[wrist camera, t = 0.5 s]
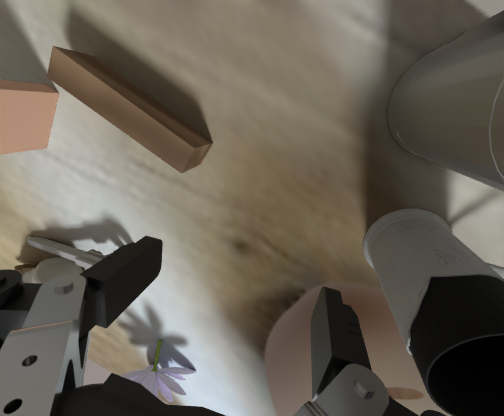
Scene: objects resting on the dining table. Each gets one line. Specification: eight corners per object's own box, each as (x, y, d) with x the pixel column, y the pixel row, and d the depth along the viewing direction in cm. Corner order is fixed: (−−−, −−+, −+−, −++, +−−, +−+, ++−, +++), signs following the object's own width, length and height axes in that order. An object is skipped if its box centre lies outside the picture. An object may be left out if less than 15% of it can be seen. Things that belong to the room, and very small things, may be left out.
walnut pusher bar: (96, 56, 27) (52, 45, 22) (213, 142, 27) (194, 148, 23) (89, 82, 28) (46, 76, 24) (201, 163, 29) (181, 173, 24)
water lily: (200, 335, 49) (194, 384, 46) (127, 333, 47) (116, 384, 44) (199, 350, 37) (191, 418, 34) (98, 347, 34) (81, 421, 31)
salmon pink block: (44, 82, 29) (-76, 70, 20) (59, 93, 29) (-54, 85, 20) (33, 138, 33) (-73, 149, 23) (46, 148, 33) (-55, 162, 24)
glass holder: (363, 210, 26) (421, 316, 13) (528, 204, 23) (856, 344, 9) (361, 277, 29) (406, 421, 16) (506, 281, 26) (728, 474, 12)
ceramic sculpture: (57, 330, 32) (12, 346, 39) (109, 287, 40) (64, 306, 46) (0, 267, 30) (-37, 295, 36) (67, 234, 38) (26, 262, 44)
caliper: (139, 248, 36) (106, 275, 30) (140, 255, 36) (108, 282, 31) (30, 234, 40) (-17, 255, 34) (32, 240, 41) (-14, 262, 35)
